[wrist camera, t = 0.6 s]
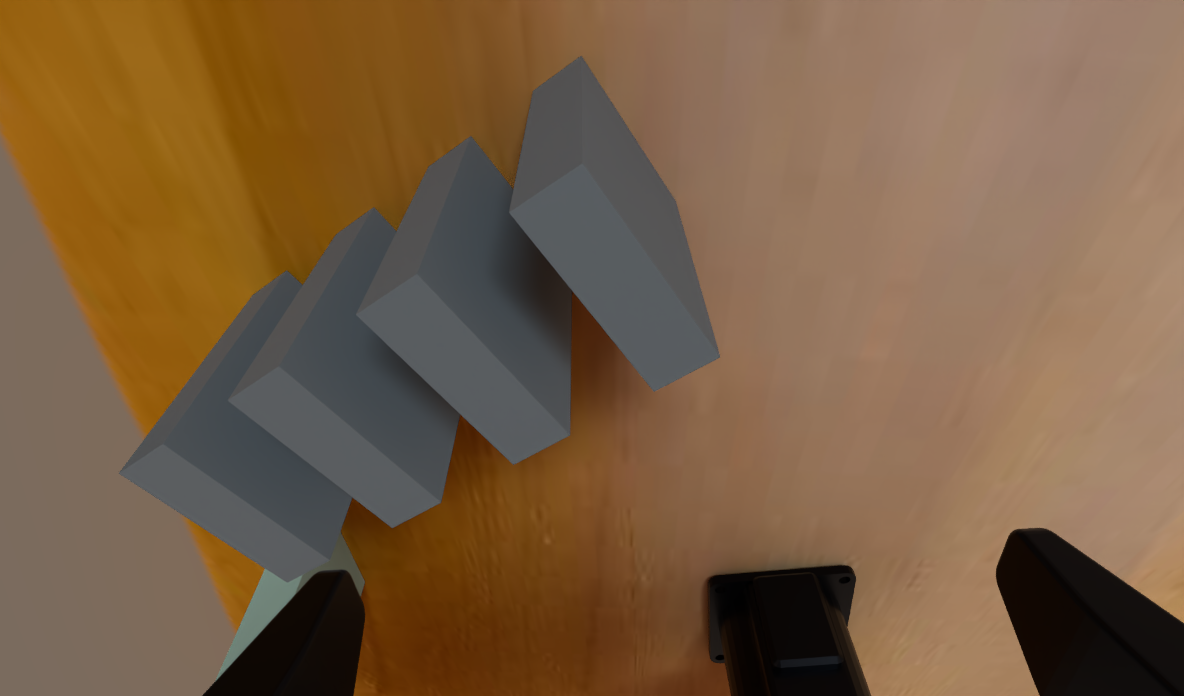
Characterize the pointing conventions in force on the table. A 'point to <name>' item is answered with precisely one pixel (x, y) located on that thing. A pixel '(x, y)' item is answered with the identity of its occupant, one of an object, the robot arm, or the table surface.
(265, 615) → the sage domino
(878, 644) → the table surface
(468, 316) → the domino
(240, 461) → the domino
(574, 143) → the domino
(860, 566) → the table surface
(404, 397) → the domino
